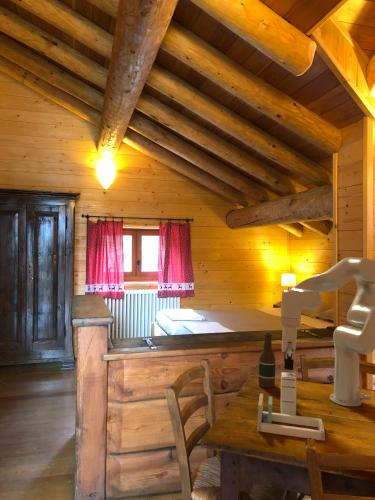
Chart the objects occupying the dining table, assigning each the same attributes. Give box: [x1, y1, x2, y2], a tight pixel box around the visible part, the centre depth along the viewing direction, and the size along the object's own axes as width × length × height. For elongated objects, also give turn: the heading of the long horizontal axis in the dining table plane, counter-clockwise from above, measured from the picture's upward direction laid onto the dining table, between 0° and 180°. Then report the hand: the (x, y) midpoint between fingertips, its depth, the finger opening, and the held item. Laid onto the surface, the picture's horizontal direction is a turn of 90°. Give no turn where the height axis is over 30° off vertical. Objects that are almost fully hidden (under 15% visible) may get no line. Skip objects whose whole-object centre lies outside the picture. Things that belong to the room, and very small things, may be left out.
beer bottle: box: [257, 332, 276, 389], centre depth 176 cm, size 8×8×24 cm
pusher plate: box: [262, 396, 273, 424], centre depth 136 cm, size 3×7×9 cm, turn 166°
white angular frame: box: [256, 393, 326, 442], centre depth 134 cm, size 22×11×9 cm, turn 76°
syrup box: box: [280, 371, 297, 416], centre depth 148 cm, size 6×6×14 cm
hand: (288, 365), depth 148 cm, fingers open, 9 cm apart
